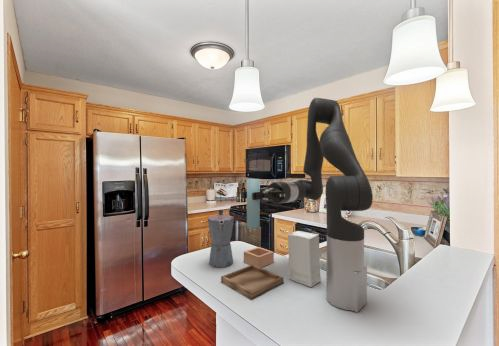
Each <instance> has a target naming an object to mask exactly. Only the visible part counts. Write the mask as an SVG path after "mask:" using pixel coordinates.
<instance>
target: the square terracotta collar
mask: <svg viewBox="0 0 499 346" xmlns="http://www.w3.org/2000/svg"><path fill="white" fill-rule="evenodd" d="M274 257H275V252H274V251H272V250H268V249H266V248H262V246H261V247H260V246H257V247H254V248H251V249H248V250H244V251H243V263H244V264H247V265H248V266H250V265H255V266H258V267H260V268H264V267H266V266H268V265H271V264H273V263H275V262H274V261H275V258H274Z"/></svg>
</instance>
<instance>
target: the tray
mask: <svg viewBox="0 0 499 346" xmlns="http://www.w3.org/2000/svg"><path fill="white" fill-rule="evenodd" d="M284 279H285V278H284V276H281V275H279V274H277V273H274V272H272V271H270V270H267V269H265V268H263V267H261V268H260V267H258V266H255V265H247V266H246V267H242V268H240V269H238V270H234V271H232V272H229V273H227V274H224V275H221V276H220V280H221V281H220V282H221V283H222V284H223V285H225V286H227V287H228V288H230V289H232V290H234V291H235V292H237V293H238V294H241V295H243V296H244V297H246V298H248V299H249V300H254V299H256V298H258V297H259V296H262V295H263V294H266V293H268V292H269V291H271V290H273V289H276V288H277V287H279V286H281V285H283V284H284V283H285V281H284Z"/></svg>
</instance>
